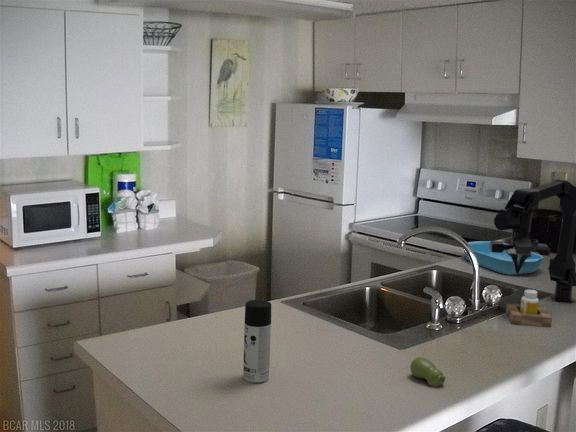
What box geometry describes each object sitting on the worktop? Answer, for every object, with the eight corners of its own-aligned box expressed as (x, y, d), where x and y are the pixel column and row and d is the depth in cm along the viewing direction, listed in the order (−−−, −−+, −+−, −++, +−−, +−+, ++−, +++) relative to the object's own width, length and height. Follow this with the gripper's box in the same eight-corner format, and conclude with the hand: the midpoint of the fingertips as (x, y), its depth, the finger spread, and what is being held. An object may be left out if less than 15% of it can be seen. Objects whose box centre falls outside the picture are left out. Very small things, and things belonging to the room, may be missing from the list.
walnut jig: (505, 311, 234) (506, 303, 233) (542, 314, 232) (543, 305, 232) (512, 324, 222) (512, 315, 222) (551, 326, 221) (552, 318, 220)
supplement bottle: (516, 318, 228) (518, 290, 226) (525, 315, 231) (528, 287, 229) (530, 323, 224) (533, 294, 222) (539, 320, 227) (542, 291, 225)
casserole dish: (451, 257, 305) (452, 241, 304) (492, 253, 314) (493, 238, 312) (509, 280, 272) (511, 262, 271) (552, 275, 281) (554, 258, 280)
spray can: (242, 372, 180) (244, 299, 176) (269, 372, 180) (270, 299, 176) (243, 383, 173) (244, 307, 169) (270, 383, 174) (272, 307, 170)
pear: (422, 351, 183) (451, 370, 176) (418, 369, 185) (447, 388, 177) (408, 356, 180) (437, 375, 172) (404, 373, 181) (432, 394, 174)
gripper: (496, 231, 224) (492, 277, 227) (556, 234, 222) (551, 281, 225) (491, 224, 235) (487, 268, 238) (548, 227, 232) (543, 272, 236)
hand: (516, 272), depth 234 cm, fingers closed
